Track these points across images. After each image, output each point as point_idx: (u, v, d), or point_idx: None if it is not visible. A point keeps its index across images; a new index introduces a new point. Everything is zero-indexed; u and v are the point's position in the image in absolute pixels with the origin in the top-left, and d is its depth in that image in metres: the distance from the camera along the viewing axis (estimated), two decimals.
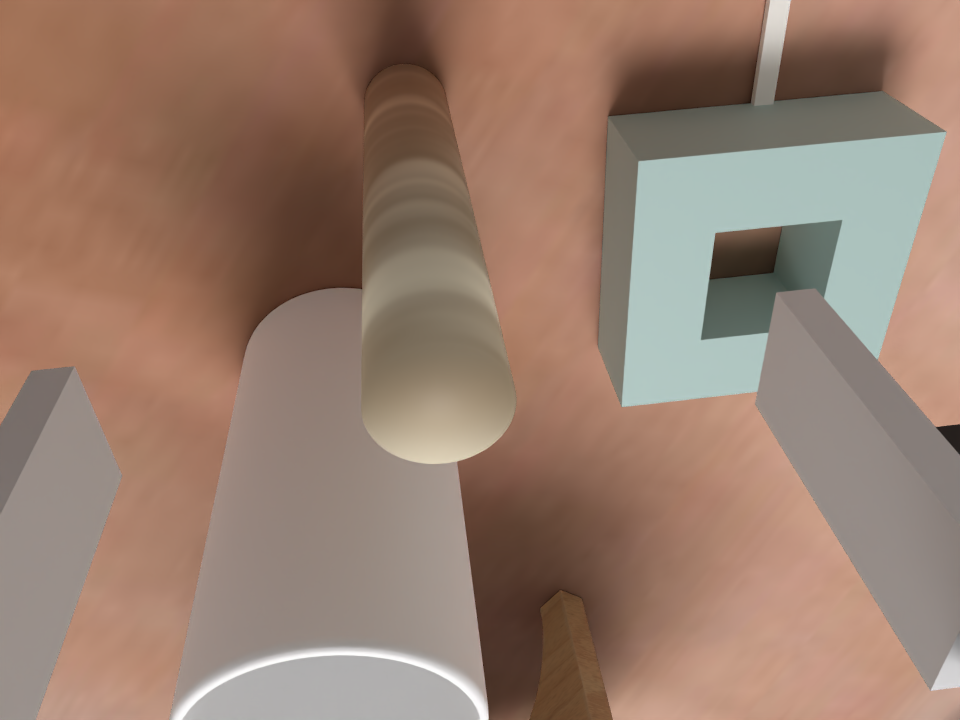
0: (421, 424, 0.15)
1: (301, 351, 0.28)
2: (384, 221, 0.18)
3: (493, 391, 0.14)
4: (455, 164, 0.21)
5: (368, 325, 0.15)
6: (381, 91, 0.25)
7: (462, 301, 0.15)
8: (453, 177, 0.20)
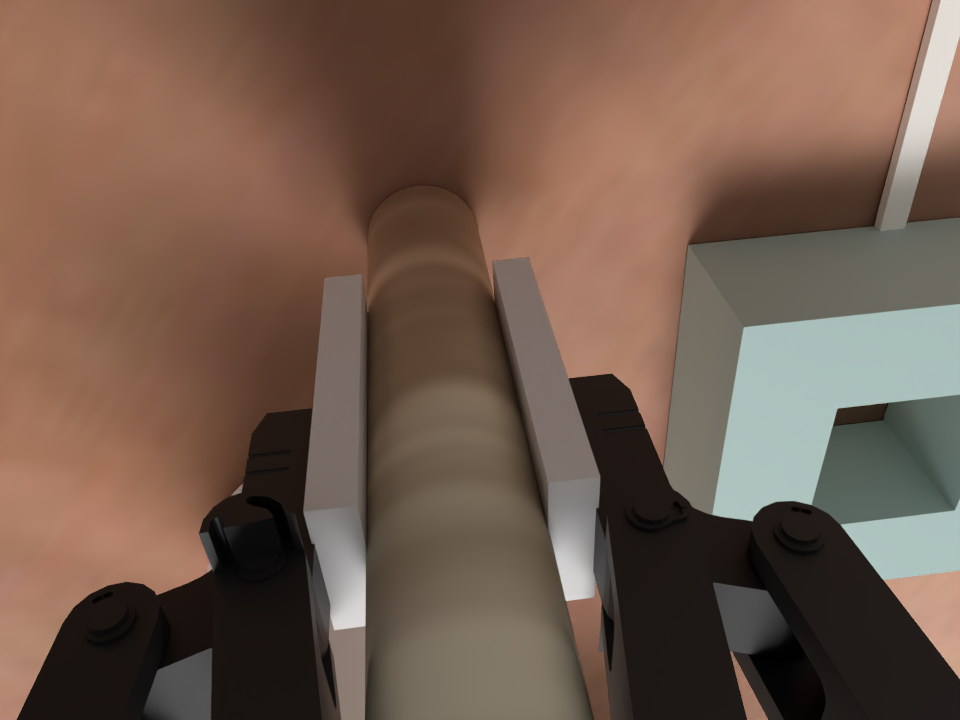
0: None
1: None
2: (400, 523, 0.11)
3: None
4: (503, 376, 0.14)
5: None
6: (391, 233, 0.18)
7: None
8: (503, 411, 0.13)
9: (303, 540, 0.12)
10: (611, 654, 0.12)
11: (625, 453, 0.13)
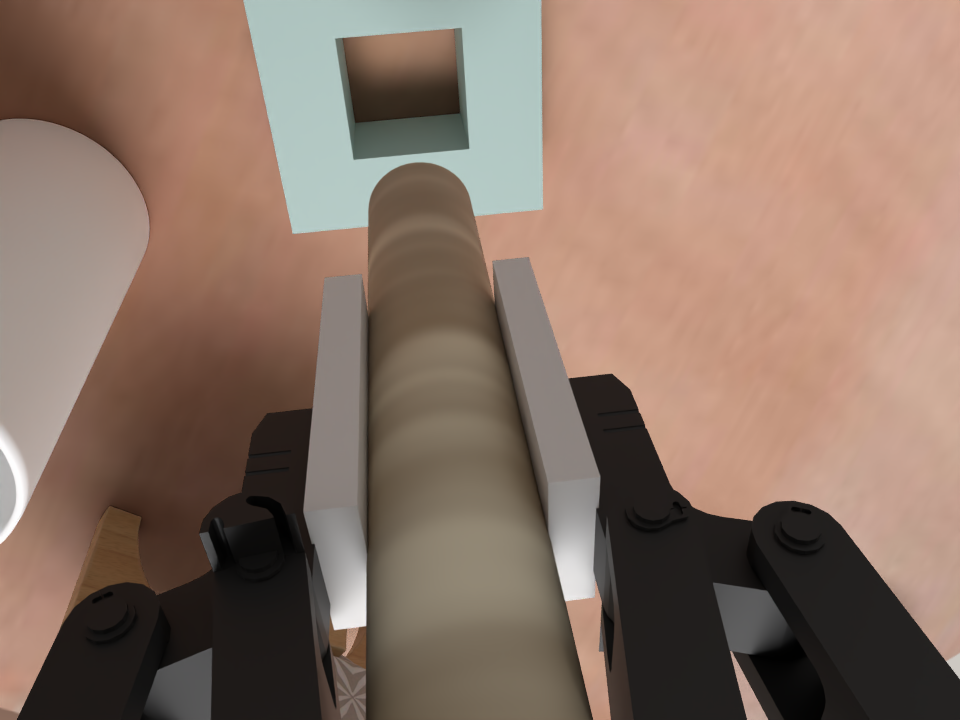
0: None
1: None
2: (398, 448, 0.13)
3: None
4: (491, 328, 0.16)
5: (376, 665, 0.10)
6: (390, 204, 0.20)
7: (524, 642, 0.10)
8: (491, 357, 0.15)
9: (303, 540, 0.12)
10: (611, 654, 0.12)
11: (625, 453, 0.13)
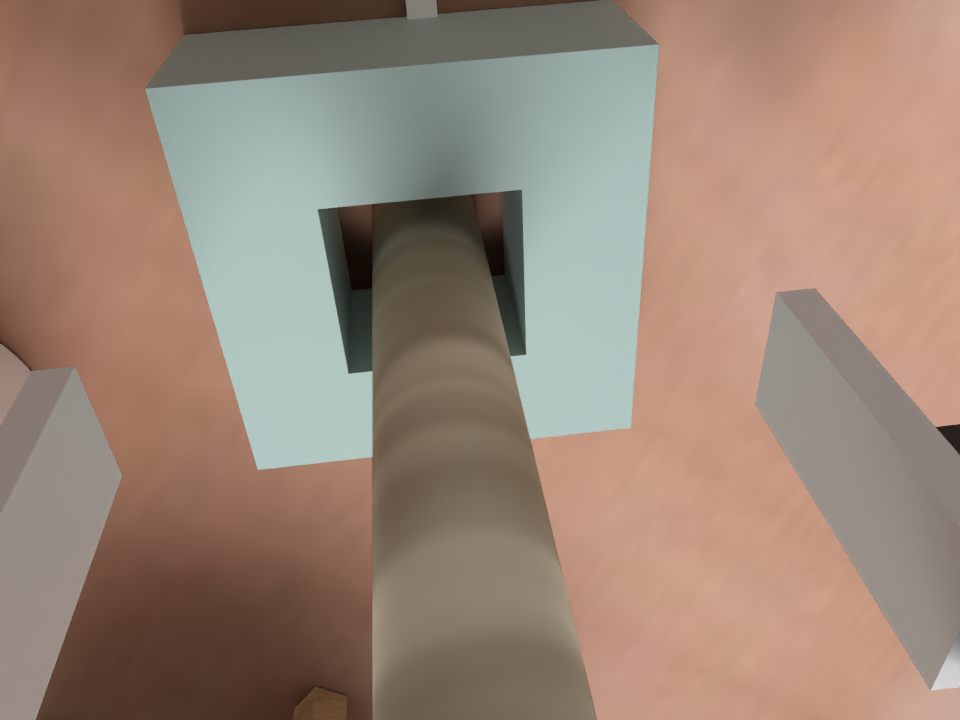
0: None
1: None
2: (404, 458, 0.13)
3: None
4: (496, 336, 0.16)
5: (383, 678, 0.10)
6: (395, 211, 0.20)
7: (531, 655, 0.10)
8: (496, 365, 0.15)
9: None
10: None
11: None
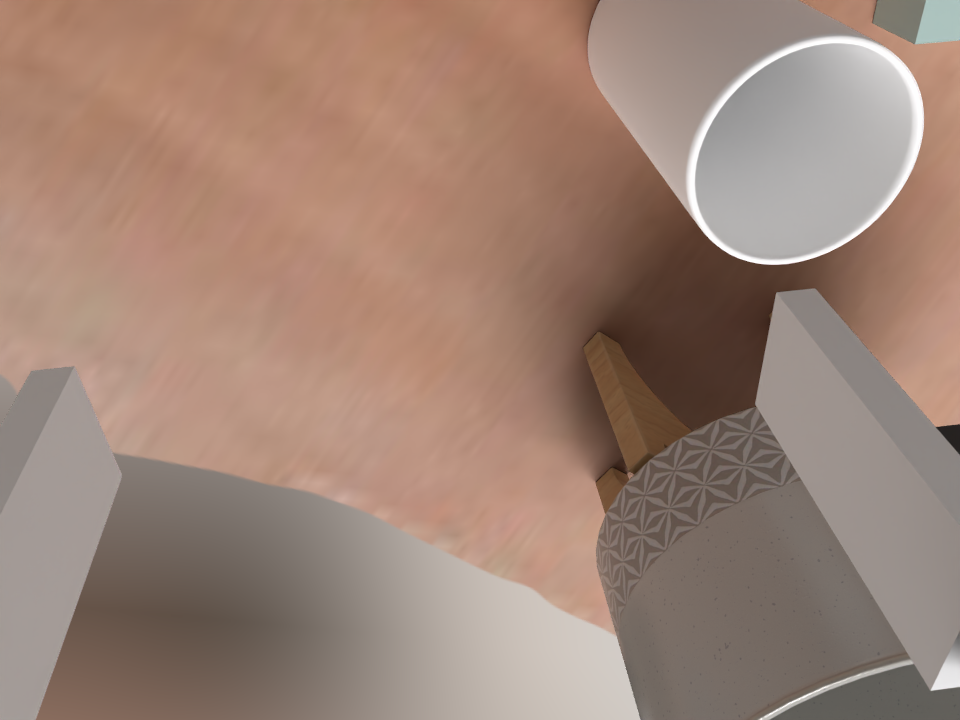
0: None
1: None
2: None
3: None
4: None
5: None
6: None
7: None
8: None
9: None
10: None
11: None
